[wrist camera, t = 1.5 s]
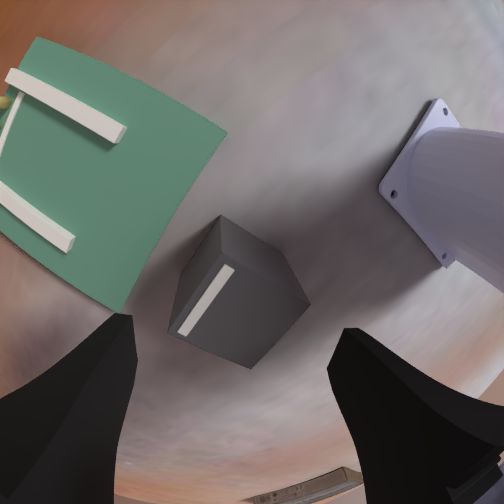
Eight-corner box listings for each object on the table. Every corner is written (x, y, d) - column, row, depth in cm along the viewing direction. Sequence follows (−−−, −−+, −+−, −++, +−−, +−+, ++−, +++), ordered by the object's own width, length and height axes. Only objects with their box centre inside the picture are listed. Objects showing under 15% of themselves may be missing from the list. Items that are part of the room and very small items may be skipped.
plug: (282, 254, 15) (311, 305, 10) (241, 307, 16) (251, 370, 11) (220, 214, 14) (221, 253, 9) (180, 274, 15) (167, 333, 10)
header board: (227, 133, 12) (230, 127, 8) (125, 302, 15) (103, 349, 11) (47, 41, 8) (7, 23, 4) (-17, 200, 11) (-57, 218, 7)
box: (360, 470, 34) (365, 482, 31) (281, 500, 36) (284, 512, 34) (343, 464, 30) (348, 479, 27) (251, 495, 32) (253, 509, 29)
